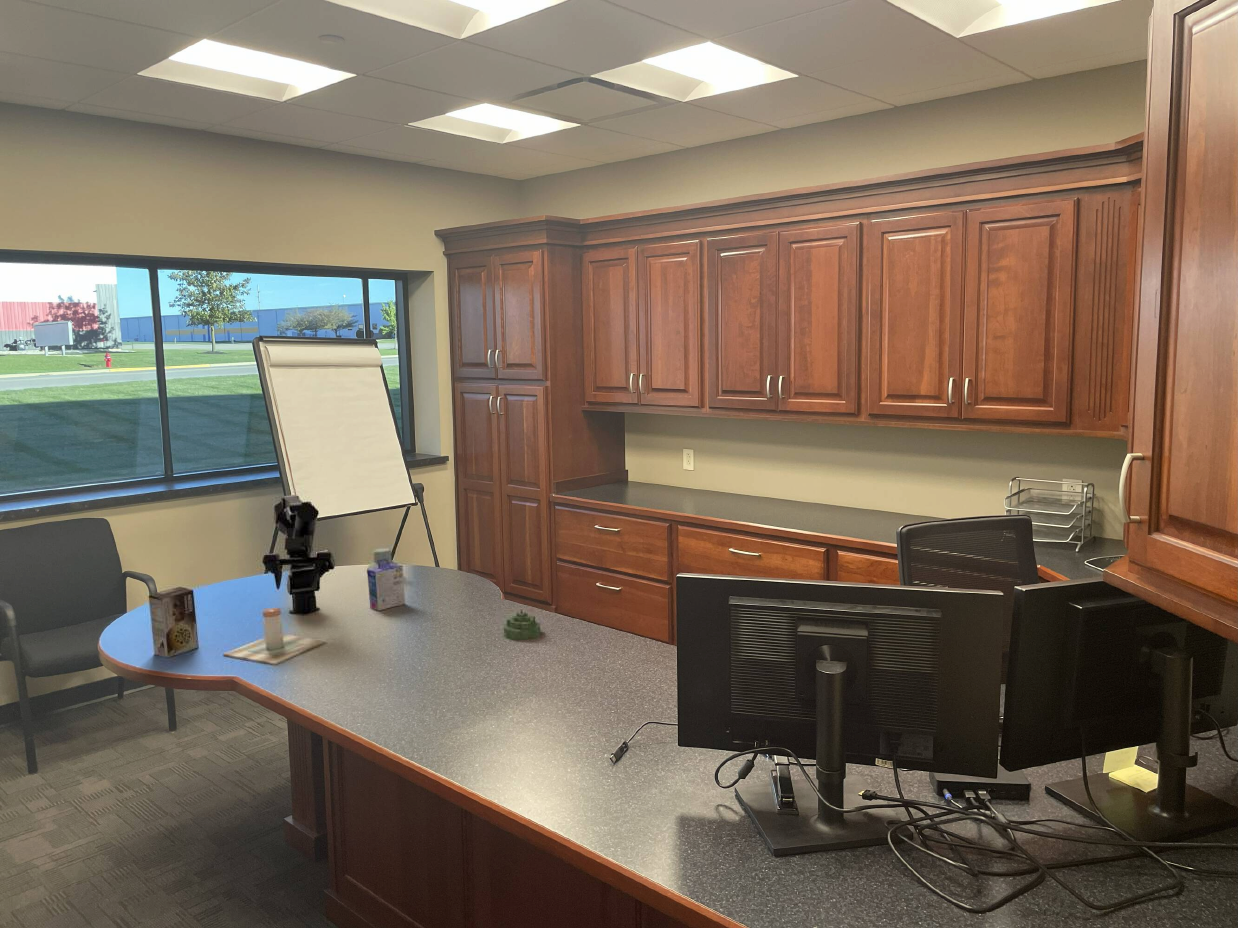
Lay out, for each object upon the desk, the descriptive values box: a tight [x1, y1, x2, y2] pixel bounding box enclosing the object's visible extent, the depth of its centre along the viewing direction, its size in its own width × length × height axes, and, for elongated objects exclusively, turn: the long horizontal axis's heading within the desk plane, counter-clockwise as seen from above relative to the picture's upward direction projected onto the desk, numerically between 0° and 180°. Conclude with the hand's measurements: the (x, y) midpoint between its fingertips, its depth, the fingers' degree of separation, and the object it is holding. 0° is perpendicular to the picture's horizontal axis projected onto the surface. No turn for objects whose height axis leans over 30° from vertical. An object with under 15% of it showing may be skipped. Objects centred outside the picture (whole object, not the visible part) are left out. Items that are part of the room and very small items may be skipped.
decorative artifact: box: [503, 609, 541, 641], centre depth 246 cm, size 10×7×10 cm
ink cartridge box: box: [366, 558, 406, 611], centre depth 275 cm, size 10×6×14 cm, turn 136°
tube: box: [262, 607, 284, 650], centre depth 237 cm, size 4×4×10 cm
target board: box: [222, 634, 327, 666], centre depth 238 cm, size 18×18×1 cm
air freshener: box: [366, 547, 398, 571], centre depth 308 cm, size 11×8×10 cm
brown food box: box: [148, 586, 200, 659], centre depth 237 cm, size 9×6×16 cm
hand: (294, 588), depth 249 cm, fingers open, 9 cm apart
